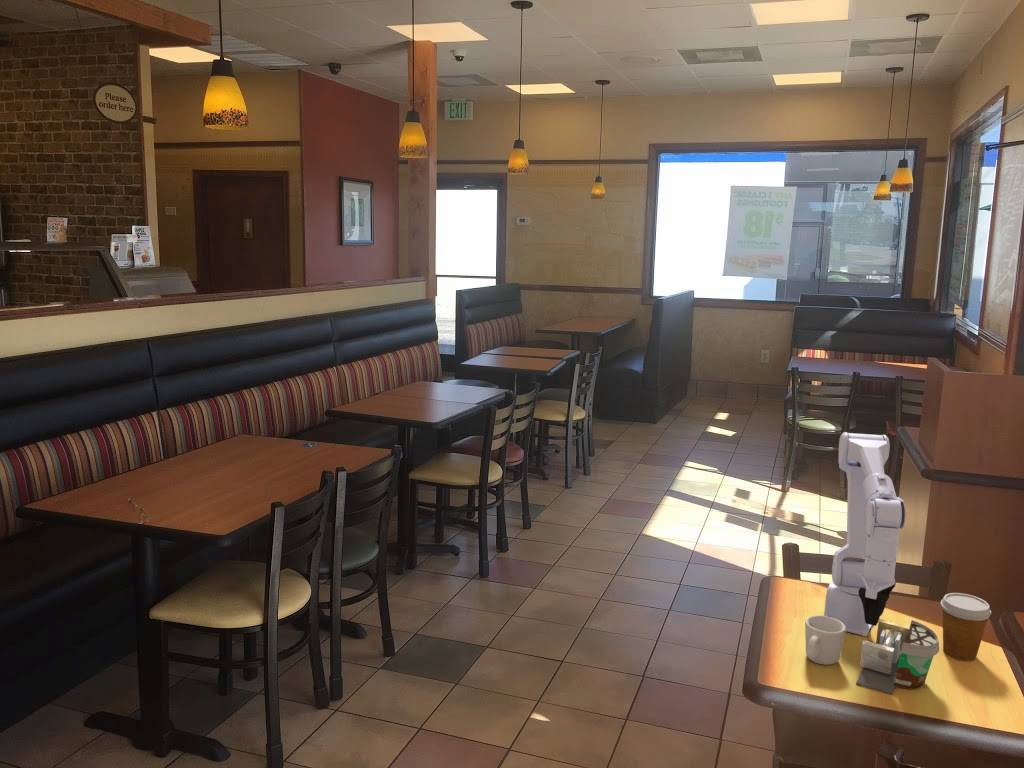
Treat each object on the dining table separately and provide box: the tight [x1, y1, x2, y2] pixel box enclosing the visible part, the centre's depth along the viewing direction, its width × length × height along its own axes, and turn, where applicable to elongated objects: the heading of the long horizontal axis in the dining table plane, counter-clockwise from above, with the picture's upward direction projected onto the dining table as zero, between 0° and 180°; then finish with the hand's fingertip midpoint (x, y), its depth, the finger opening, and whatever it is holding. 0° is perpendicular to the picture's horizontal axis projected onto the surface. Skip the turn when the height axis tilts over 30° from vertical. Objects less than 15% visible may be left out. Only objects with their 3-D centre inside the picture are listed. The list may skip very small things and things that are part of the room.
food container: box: [894, 619, 940, 690], centre depth 170 cm, size 12×6×10 cm, turn 148°
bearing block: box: [879, 629, 902, 663], centre depth 179 cm, size 4×4×6 cm
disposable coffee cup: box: [940, 592, 992, 662], centre depth 181 cm, size 10×10×12 cm
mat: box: [855, 651, 901, 696], centre depth 176 cm, size 7×21×1 cm, turn 147°
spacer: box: [875, 618, 910, 651], centre depth 181 cm, size 6×1×5 cm, turn 57°
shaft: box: [859, 630, 899, 674], centre depth 178 cm, size 6×13×5 cm, turn 147°
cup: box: [804, 615, 847, 666], centre depth 177 cm, size 11×8×8 cm
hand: (873, 619), depth 175 cm, fingers open, 5 cm apart
